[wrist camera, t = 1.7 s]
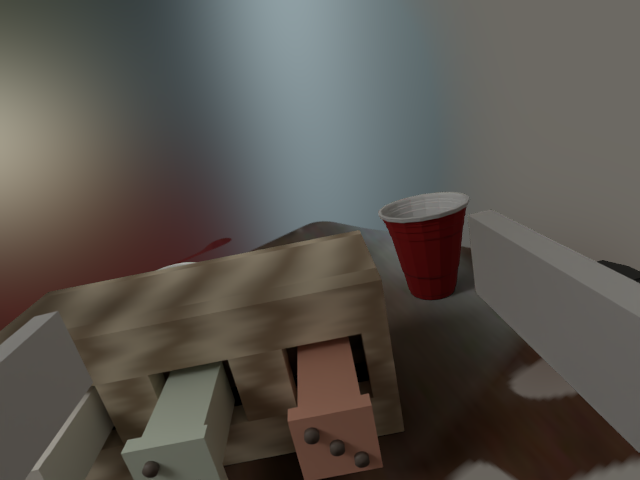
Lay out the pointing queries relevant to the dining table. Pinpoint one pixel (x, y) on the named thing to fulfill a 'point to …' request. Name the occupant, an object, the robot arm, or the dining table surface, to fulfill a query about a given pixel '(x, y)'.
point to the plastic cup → (428, 240)
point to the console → (229, 337)
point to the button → (76, 442)
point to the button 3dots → (332, 413)
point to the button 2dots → (185, 428)
